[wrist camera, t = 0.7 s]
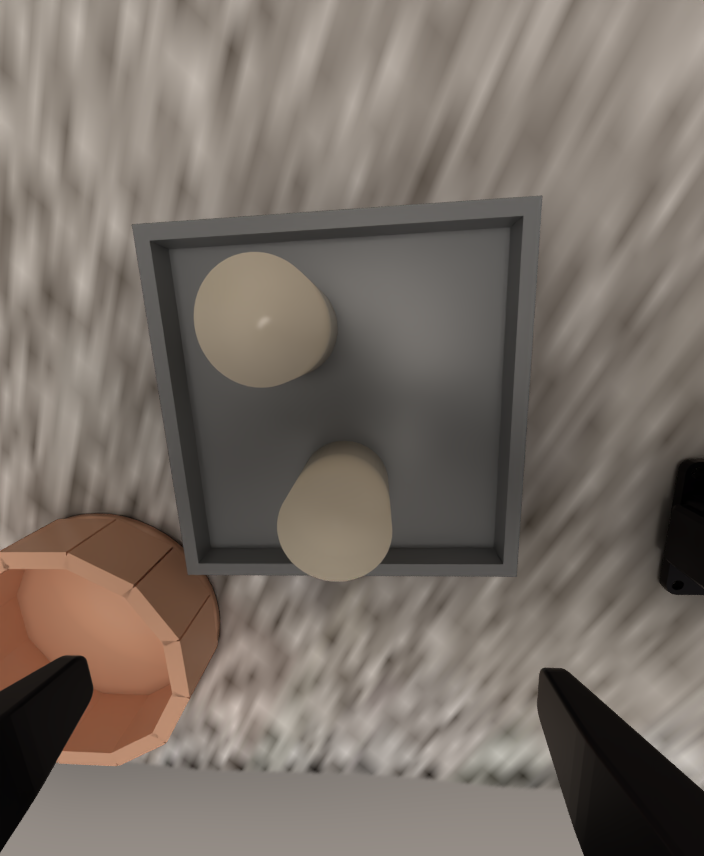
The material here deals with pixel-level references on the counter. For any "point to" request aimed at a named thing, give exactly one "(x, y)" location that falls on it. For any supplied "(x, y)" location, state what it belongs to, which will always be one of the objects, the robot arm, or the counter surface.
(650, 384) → the counter surface
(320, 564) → the cream rounded piece
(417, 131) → the counter surface
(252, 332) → the pebble
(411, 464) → the parts tray
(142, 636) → the bowl
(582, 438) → the counter surface
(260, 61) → the counter surface
